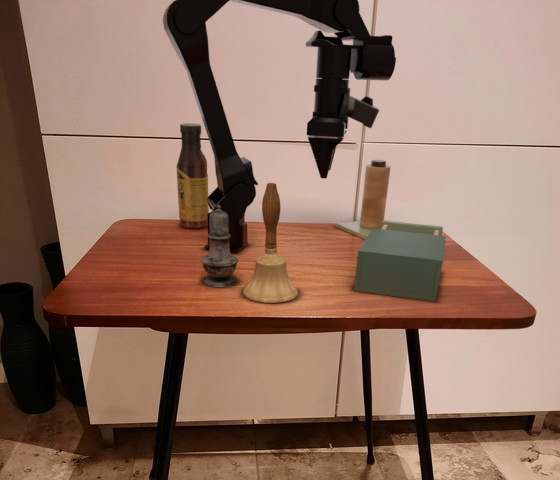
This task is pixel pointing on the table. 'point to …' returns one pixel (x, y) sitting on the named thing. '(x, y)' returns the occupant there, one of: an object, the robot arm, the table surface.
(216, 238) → the salt shaker
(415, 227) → the drawer
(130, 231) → the table surface
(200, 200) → the sauce bottle
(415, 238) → the cabinet
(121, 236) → the table surface
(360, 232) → the tile
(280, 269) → the hand bell
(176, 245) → the table surface
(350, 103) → the robot arm
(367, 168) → the pepper mill
